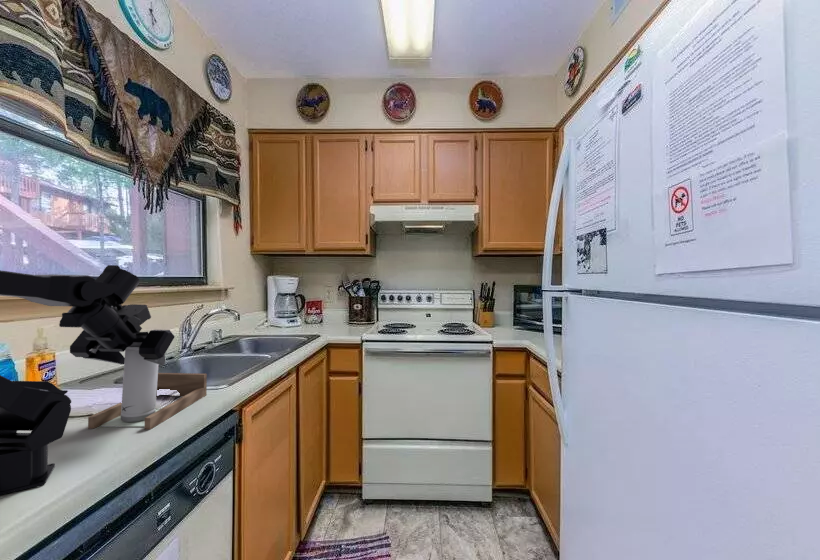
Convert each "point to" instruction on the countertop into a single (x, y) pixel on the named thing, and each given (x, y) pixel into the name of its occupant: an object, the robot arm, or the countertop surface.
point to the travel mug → (138, 385)
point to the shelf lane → (184, 383)
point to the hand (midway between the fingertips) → (144, 362)
